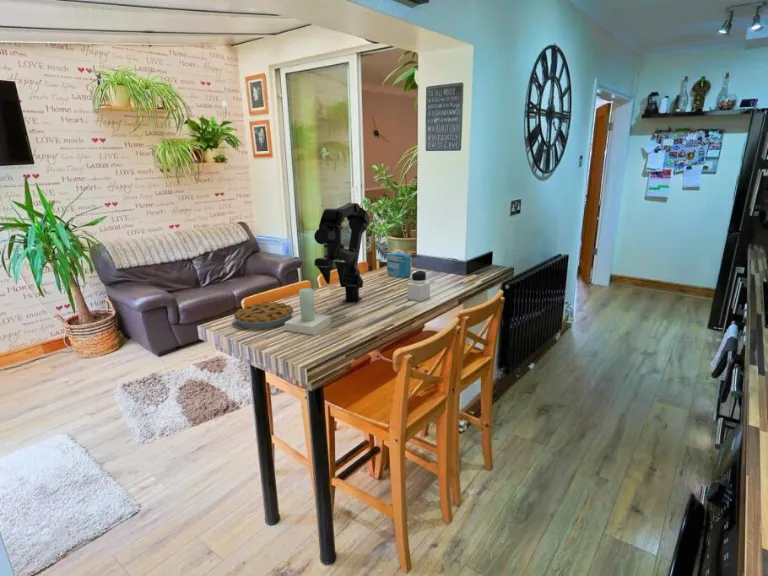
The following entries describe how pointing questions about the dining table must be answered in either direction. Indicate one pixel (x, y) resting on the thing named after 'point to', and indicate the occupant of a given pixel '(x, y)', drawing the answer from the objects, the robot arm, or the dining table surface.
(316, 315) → the stand
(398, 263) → the data package
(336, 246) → the robot arm
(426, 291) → the medicine bottle
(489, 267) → the dining table surface
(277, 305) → the pie
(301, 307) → the ball
